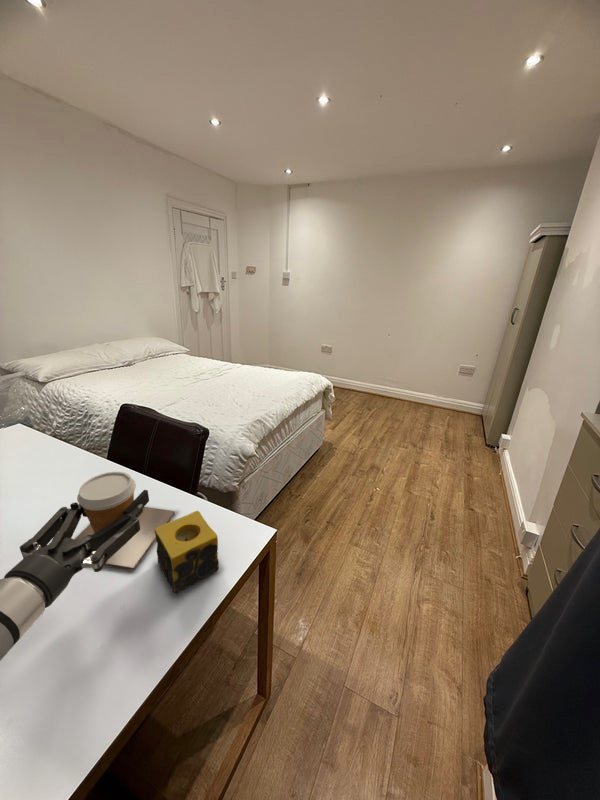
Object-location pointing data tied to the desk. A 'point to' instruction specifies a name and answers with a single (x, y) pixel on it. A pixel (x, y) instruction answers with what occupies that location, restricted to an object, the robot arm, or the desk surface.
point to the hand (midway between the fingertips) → (126, 492)
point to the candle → (186, 551)
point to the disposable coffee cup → (106, 498)
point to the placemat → (136, 539)
